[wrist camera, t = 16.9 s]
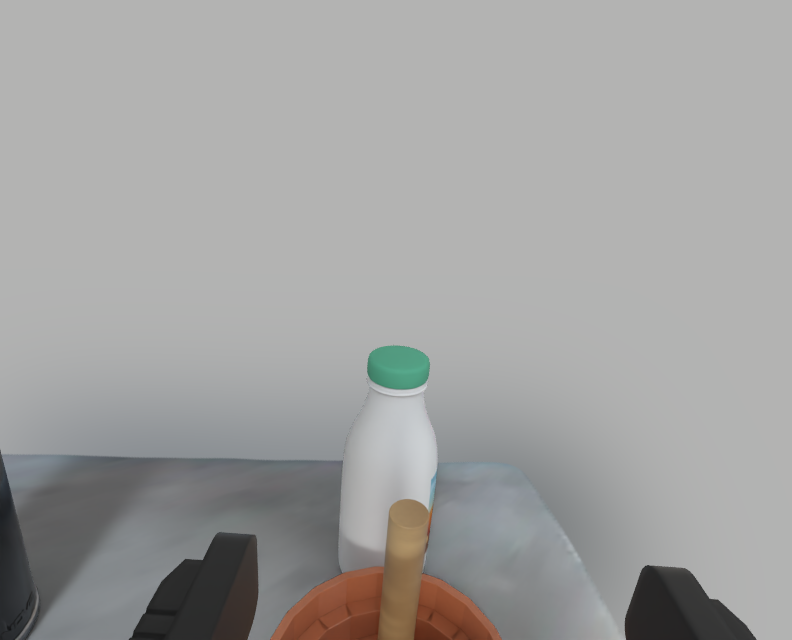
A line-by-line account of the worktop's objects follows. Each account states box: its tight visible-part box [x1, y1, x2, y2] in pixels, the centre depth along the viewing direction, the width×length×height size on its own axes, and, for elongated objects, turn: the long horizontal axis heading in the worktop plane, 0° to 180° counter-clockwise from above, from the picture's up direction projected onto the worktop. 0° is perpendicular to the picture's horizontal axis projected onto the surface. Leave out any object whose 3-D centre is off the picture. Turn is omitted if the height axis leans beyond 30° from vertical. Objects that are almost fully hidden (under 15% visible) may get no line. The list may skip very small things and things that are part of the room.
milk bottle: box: [338, 346, 438, 573], centre depth 38 cm, size 8×8×20 cm
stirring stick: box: [378, 499, 429, 640], centre depth 26 cm, size 4×4×17 cm
